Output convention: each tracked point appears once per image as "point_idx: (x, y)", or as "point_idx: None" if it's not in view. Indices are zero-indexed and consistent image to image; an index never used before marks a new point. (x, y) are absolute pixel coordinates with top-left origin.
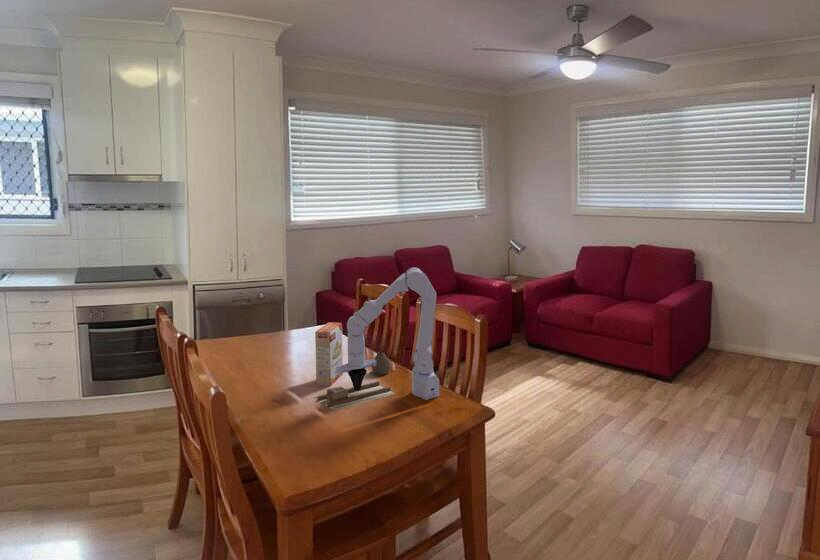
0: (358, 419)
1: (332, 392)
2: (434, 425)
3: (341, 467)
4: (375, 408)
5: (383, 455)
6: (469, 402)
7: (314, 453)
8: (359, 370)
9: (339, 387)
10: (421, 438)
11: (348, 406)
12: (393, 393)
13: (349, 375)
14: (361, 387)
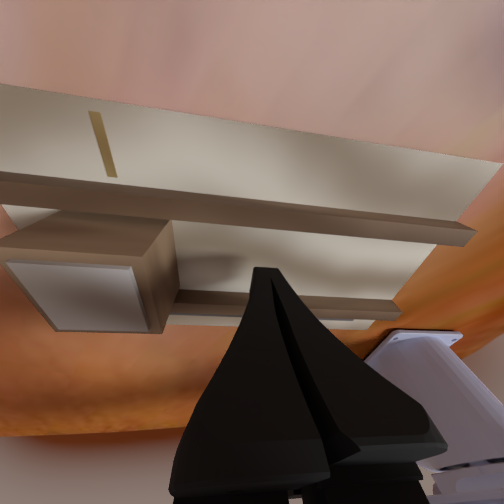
0: (157, 361)
1: (42, 312)
2: None
3: (60, 427)
4: None
5: (139, 426)
6: None
7: (3, 404)
8: (297, 495)
9: (119, 285)
10: None
11: None
12: (365, 325)
13: (221, 365)
14: (336, 232)
